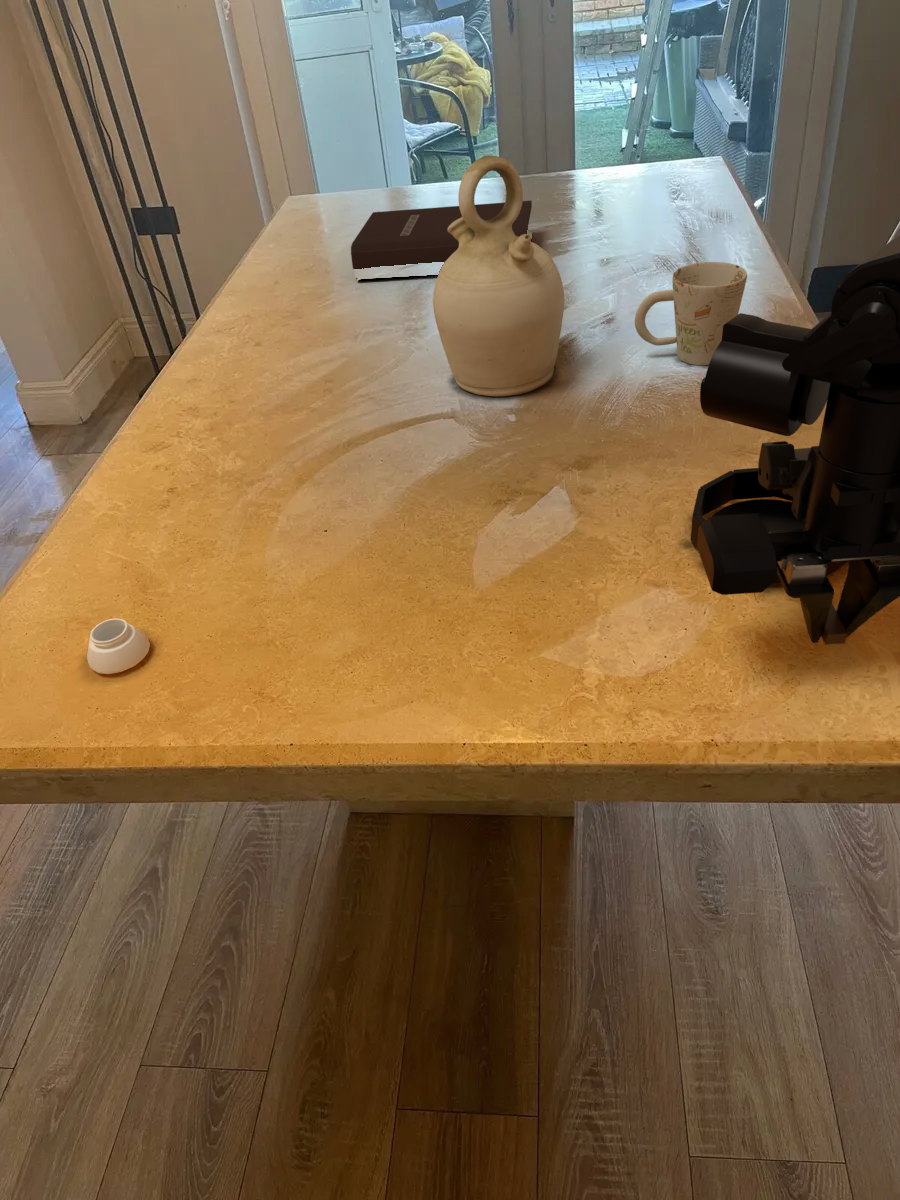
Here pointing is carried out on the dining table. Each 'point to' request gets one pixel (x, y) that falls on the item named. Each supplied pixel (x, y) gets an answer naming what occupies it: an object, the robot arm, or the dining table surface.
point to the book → (419, 235)
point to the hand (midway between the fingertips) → (825, 638)
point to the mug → (698, 308)
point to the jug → (497, 296)
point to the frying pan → (771, 514)
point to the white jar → (116, 646)
